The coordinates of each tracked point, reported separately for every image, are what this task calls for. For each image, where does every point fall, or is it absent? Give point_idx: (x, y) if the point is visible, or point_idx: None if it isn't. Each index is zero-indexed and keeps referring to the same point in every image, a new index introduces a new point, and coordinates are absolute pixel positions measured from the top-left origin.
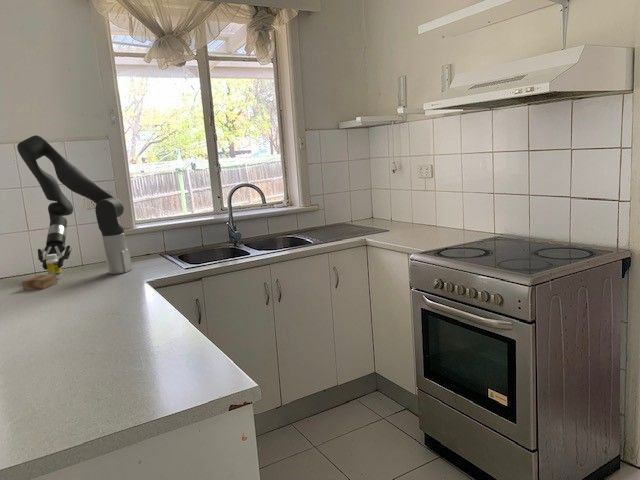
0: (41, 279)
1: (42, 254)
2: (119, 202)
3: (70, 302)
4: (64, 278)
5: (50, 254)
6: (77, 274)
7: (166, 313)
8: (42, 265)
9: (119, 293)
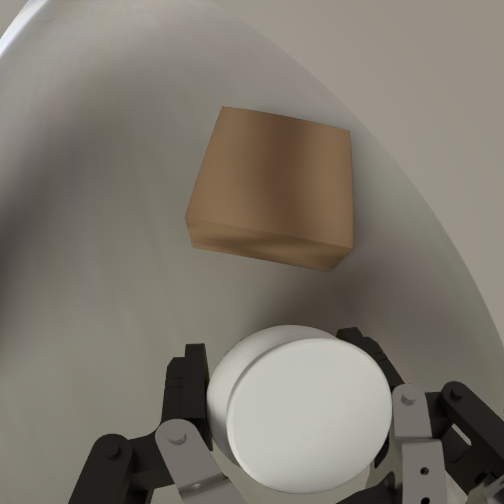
0: (231, 113)
1: (474, 486)
2: None
3: (96, 36)
4: None
5: (351, 450)
6: None
7: (8, 33)
8: (379, 349)
9: (6, 78)
